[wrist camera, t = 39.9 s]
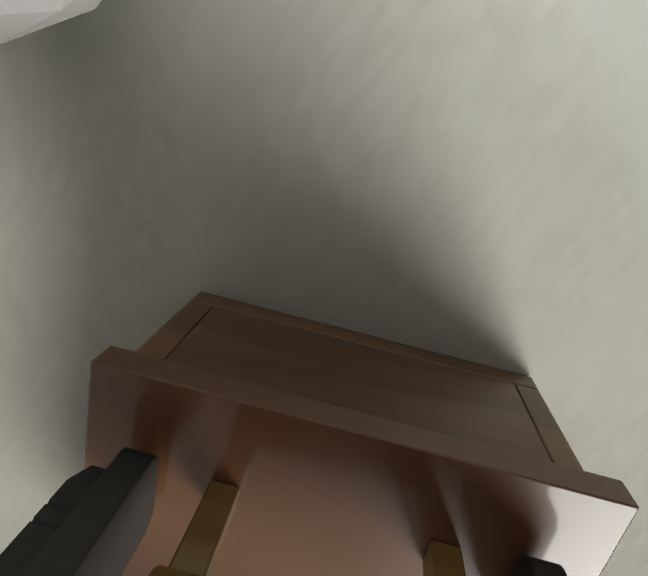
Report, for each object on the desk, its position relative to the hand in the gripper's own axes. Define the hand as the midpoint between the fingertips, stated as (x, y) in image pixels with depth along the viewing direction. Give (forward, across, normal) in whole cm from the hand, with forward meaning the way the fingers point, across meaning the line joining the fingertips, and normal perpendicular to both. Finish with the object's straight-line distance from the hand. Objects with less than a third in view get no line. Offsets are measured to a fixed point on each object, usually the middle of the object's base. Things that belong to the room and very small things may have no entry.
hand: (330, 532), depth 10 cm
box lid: (+1, 0, -5) cm, 5 cm away
